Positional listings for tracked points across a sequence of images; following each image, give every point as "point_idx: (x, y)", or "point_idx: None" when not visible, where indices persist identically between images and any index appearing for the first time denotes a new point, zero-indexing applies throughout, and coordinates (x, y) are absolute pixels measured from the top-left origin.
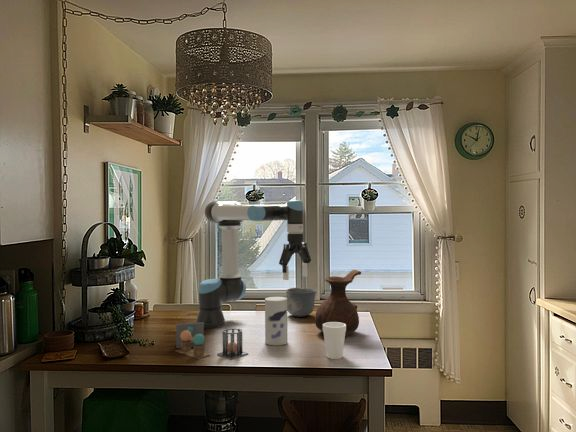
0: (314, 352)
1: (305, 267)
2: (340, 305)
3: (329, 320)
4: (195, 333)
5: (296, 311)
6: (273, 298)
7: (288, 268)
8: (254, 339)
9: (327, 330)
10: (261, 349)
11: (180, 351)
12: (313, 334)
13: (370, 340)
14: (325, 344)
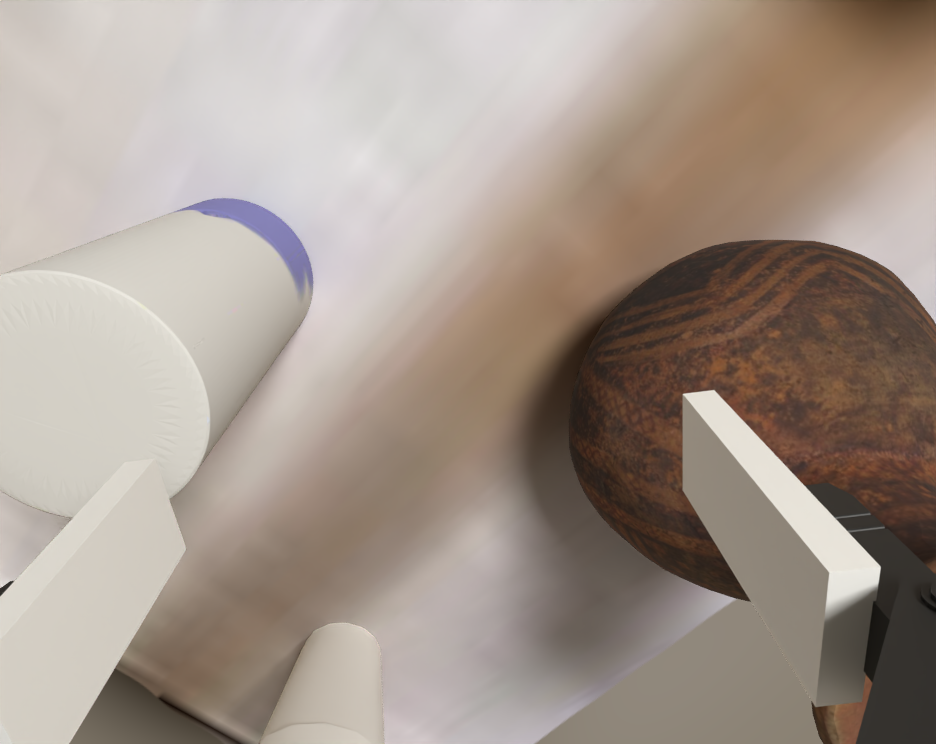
0: (306, 558)
1: (760, 589)
2: (731, 586)
3: (591, 500)
4: None
5: None
6: (35, 391)
7: (77, 729)
8: (140, 92)
9: None
10: None
11: None
12: (575, 290)
13: (703, 591)
14: (284, 688)
